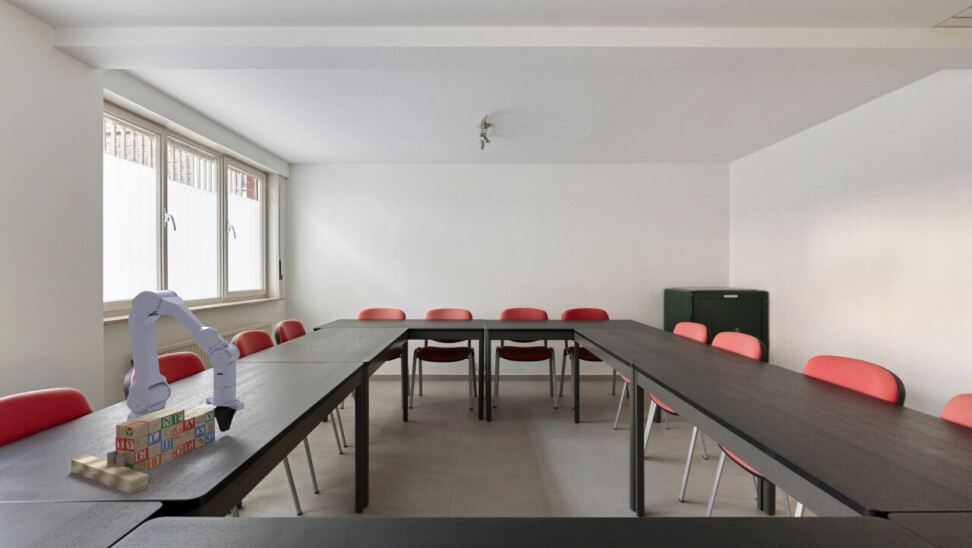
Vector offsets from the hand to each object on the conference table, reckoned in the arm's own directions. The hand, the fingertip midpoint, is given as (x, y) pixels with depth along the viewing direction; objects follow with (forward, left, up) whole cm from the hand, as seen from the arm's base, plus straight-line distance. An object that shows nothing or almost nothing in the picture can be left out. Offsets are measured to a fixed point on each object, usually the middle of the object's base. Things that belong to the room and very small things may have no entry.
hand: (224, 430), depth 118 cm
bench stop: (0, -28, -1) cm, 28 cm away
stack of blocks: (-1, -14, -2) cm, 15 cm away
